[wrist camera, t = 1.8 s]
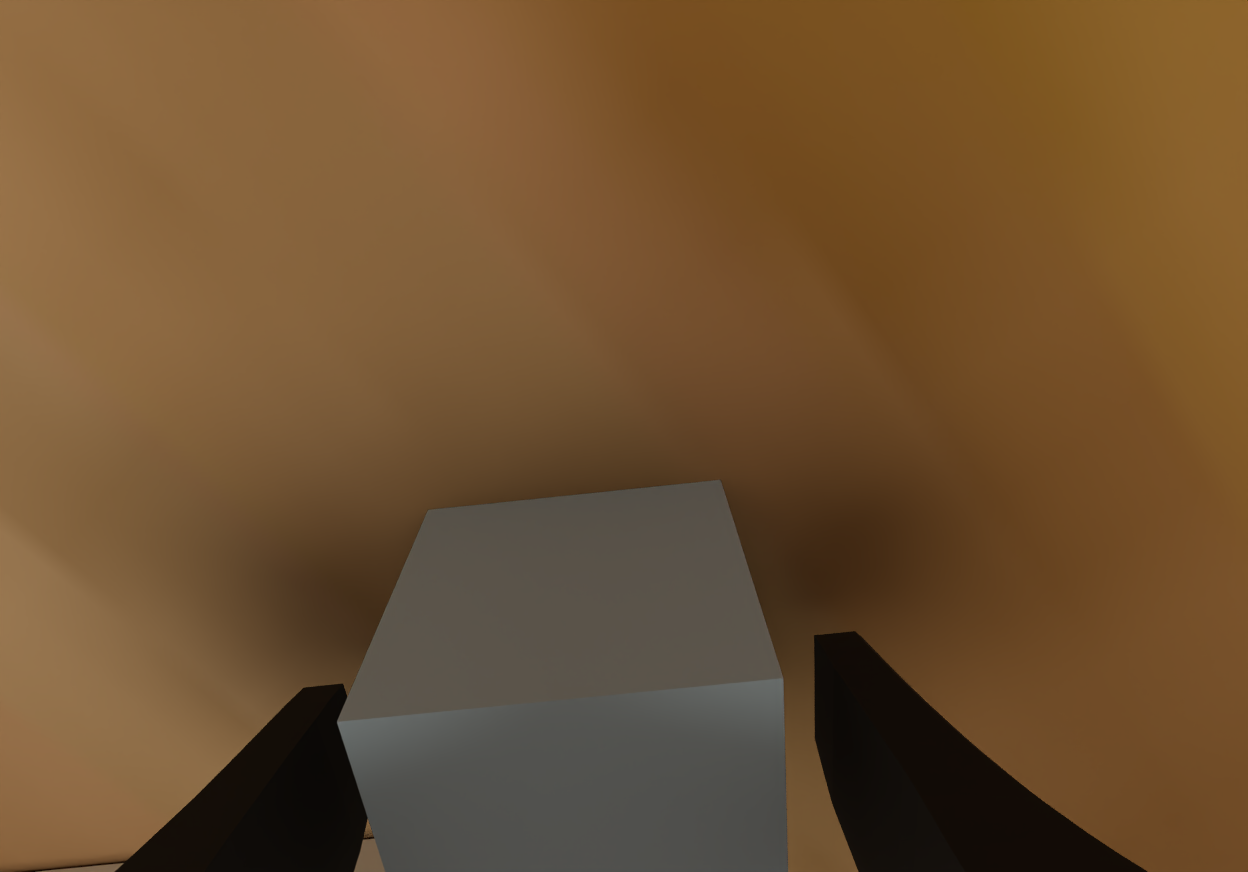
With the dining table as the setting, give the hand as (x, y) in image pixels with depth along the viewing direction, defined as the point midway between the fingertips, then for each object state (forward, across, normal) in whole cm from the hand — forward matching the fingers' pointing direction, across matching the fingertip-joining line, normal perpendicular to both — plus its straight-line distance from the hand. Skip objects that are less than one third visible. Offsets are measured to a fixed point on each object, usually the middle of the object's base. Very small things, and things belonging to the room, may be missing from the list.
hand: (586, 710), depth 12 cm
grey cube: (+2, 0, 0) cm, 3 cm away
